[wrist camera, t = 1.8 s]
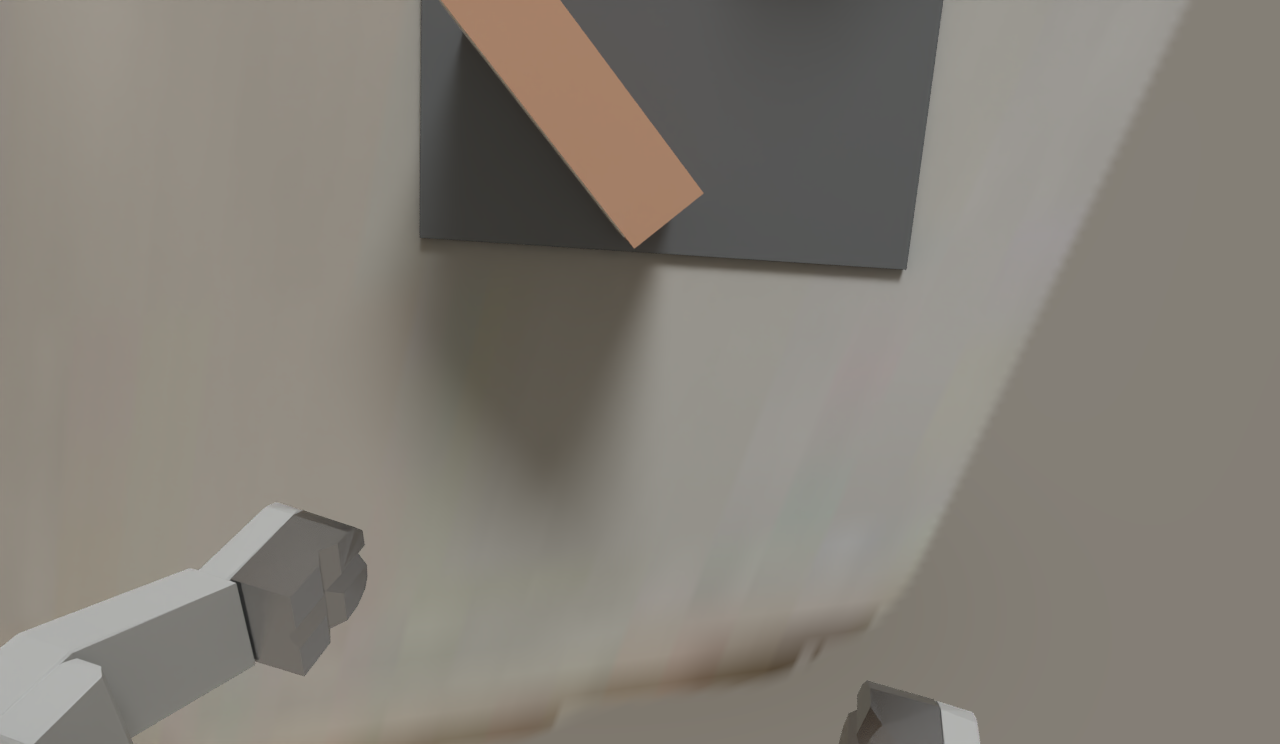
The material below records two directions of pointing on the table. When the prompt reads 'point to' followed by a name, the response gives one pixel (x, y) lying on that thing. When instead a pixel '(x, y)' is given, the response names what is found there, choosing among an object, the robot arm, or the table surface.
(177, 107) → the table surface
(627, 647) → the table surface
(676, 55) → the mat
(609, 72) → the tile
